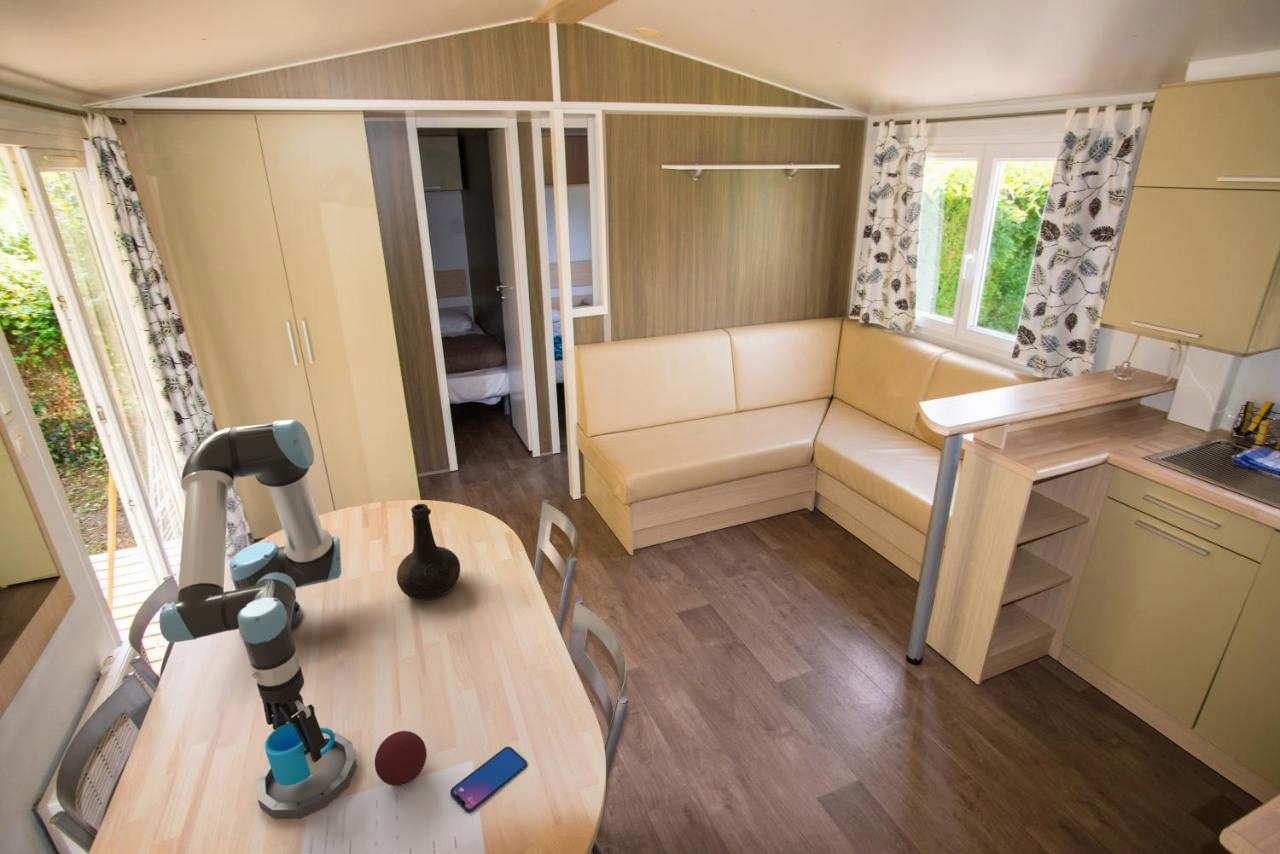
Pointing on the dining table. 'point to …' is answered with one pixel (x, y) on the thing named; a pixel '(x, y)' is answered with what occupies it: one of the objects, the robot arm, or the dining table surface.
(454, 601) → the dining table surface
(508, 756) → the smartphone
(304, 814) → the holder ring
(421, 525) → the glass bottle
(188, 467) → the robot arm
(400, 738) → the decorative ball
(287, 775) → the mug
